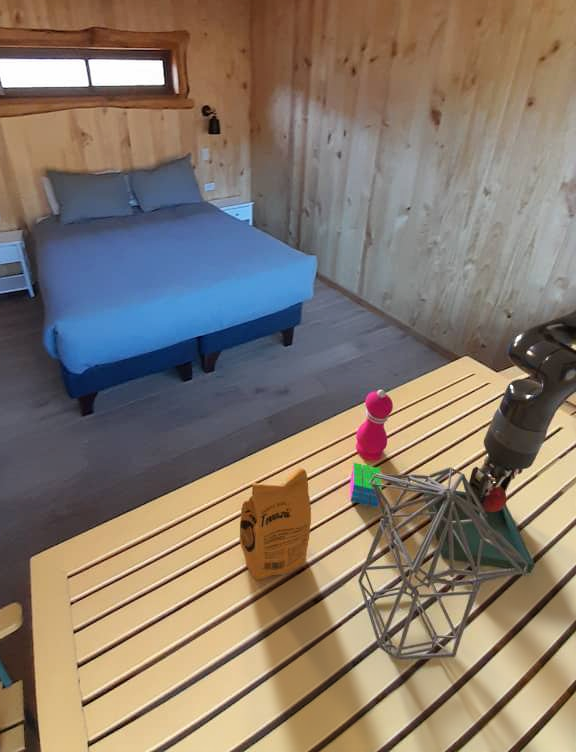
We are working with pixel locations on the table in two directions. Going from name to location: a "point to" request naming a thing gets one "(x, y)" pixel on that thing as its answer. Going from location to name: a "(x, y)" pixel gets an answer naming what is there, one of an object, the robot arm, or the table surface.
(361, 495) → the puzzle toy
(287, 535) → the coffee package
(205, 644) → the table surface
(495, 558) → the tray
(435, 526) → the geometric lantern
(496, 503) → the onion
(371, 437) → the pepper mill
